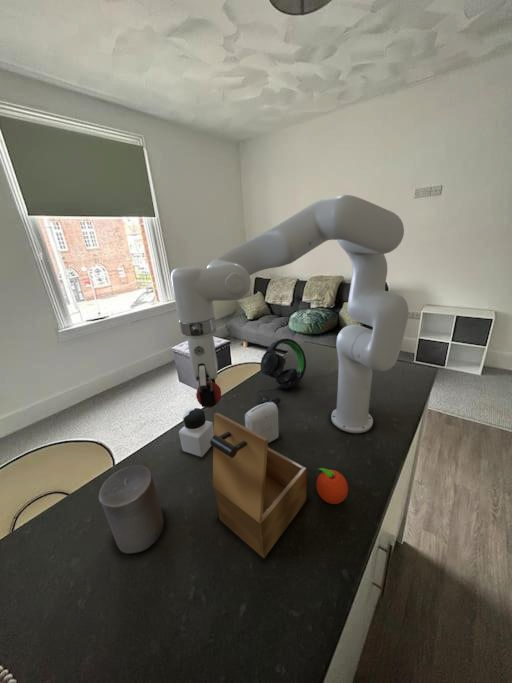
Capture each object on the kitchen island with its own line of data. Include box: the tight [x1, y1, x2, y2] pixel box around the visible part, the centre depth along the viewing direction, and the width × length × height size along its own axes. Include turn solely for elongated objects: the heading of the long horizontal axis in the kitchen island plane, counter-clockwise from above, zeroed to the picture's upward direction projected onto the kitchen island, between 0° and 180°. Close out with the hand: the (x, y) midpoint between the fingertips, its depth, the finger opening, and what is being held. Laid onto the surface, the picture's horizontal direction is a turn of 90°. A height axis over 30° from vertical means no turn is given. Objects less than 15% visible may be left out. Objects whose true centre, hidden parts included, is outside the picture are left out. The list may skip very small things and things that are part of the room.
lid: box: [210, 412, 269, 523], centre depth 50 cm, size 16×13×5 cm
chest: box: [213, 446, 307, 559], centre depth 61 cm, size 16×13×10 cm
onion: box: [195, 381, 222, 409], centre depth 66 cm, size 6×6×8 cm
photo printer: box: [244, 402, 280, 444], centre depth 80 cm, size 10×4×12 cm, turn 123°
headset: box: [256, 338, 307, 407], centre depth 105 cm, size 18×14×29 cm
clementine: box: [315, 467, 349, 505], centre depth 63 cm, size 8×7×7 cm
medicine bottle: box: [178, 407, 214, 458], centre depth 80 cm, size 7×7×12 cm
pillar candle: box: [98, 464, 165, 554], centre depth 57 cm, size 10×10×15 cm
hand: (209, 396), depth 66 cm, fingers closed on onion, 5 cm apart
